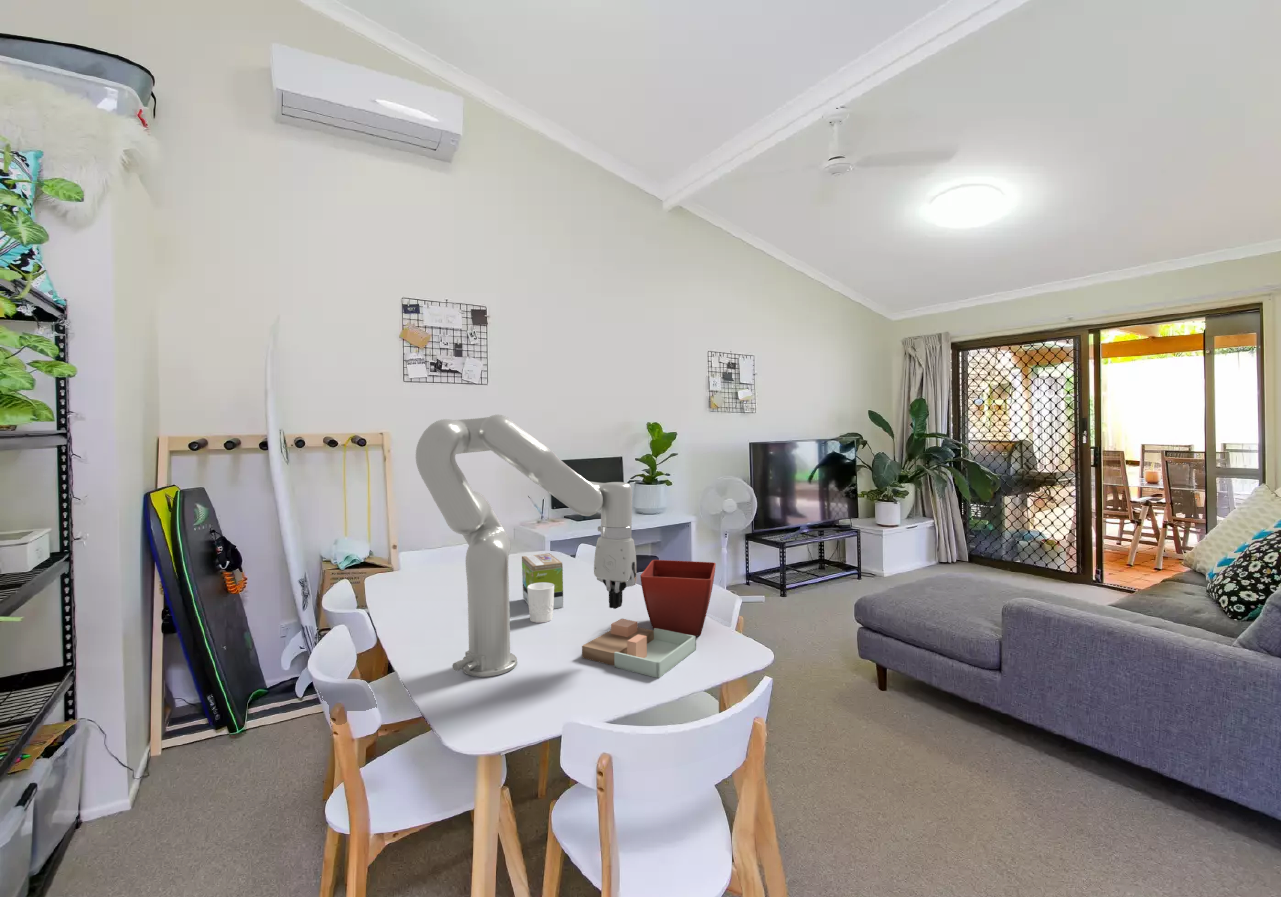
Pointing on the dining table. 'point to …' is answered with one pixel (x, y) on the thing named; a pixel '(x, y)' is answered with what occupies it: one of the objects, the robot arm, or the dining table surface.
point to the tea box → (543, 575)
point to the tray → (659, 654)
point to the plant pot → (678, 594)
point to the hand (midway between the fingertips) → (615, 606)
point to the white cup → (541, 601)
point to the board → (611, 646)
